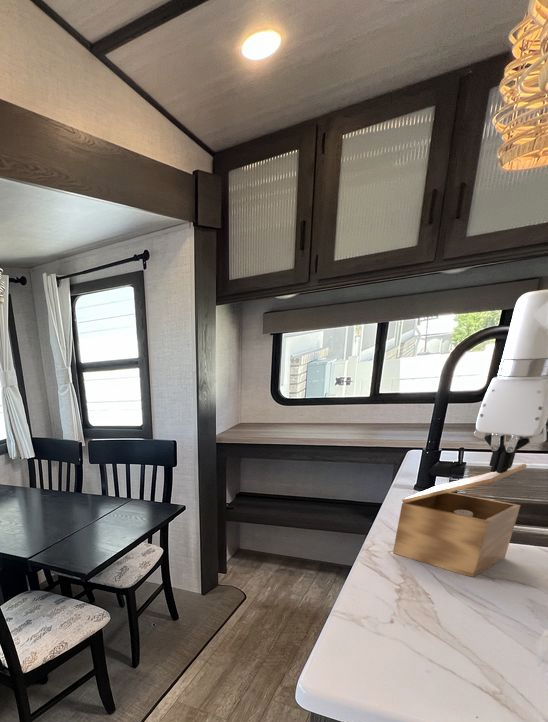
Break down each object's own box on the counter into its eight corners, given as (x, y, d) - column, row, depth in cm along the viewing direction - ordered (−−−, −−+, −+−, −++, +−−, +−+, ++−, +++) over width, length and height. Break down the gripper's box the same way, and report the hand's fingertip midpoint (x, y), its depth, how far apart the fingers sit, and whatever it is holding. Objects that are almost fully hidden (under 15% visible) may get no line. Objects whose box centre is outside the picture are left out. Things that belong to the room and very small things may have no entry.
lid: (526, 467, 91) (525, 463, 91) (493, 482, 85) (492, 477, 85) (436, 489, 106) (435, 485, 106) (402, 503, 100) (401, 499, 100)
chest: (504, 558, 98) (520, 505, 94) (472, 577, 92) (487, 521, 88) (425, 537, 111) (435, 489, 106) (392, 553, 105) (402, 503, 100)
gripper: (592, 366, 78) (557, 474, 85) (486, 367, 90) (464, 461, 97) (574, 371, 74) (539, 482, 82) (467, 371, 86) (445, 468, 94)
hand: (499, 470), depth 89 cm, fingers closed
